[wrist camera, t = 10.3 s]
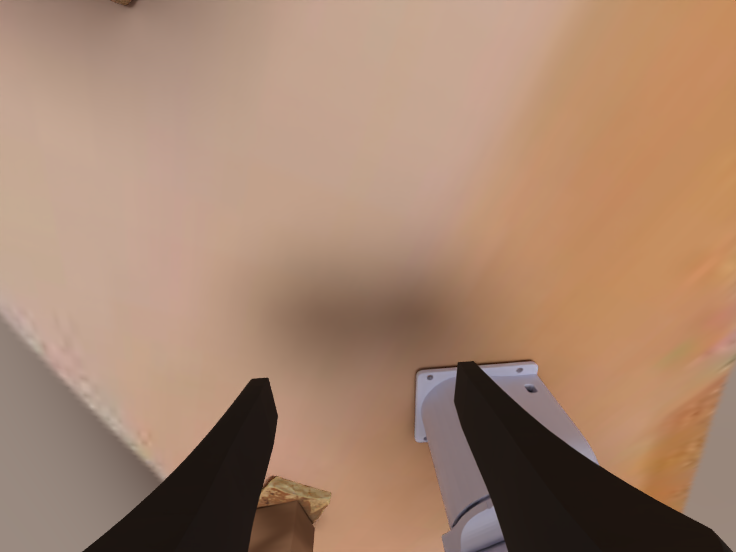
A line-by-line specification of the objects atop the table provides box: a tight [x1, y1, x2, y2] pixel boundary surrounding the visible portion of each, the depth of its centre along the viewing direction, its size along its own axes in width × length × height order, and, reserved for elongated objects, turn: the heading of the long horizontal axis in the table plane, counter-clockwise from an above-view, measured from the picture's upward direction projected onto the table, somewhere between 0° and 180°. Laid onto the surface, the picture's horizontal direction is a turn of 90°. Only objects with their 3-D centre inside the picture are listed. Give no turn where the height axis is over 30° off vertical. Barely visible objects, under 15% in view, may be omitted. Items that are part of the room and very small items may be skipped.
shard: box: [257, 476, 331, 524], centre depth 31 cm, size 11×8×2 cm
